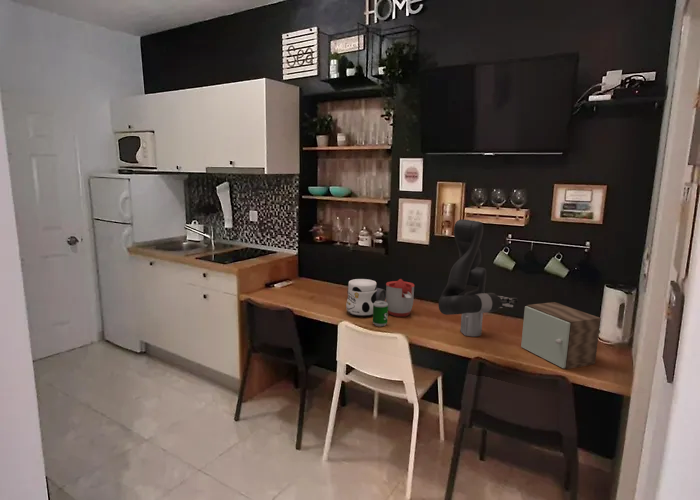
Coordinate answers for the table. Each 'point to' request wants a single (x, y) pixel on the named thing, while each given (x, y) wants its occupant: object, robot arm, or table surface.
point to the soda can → (380, 313)
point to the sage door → (545, 336)
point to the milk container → (361, 297)
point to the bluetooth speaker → (380, 294)
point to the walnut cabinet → (576, 332)
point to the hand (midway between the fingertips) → (516, 300)
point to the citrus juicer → (399, 297)
